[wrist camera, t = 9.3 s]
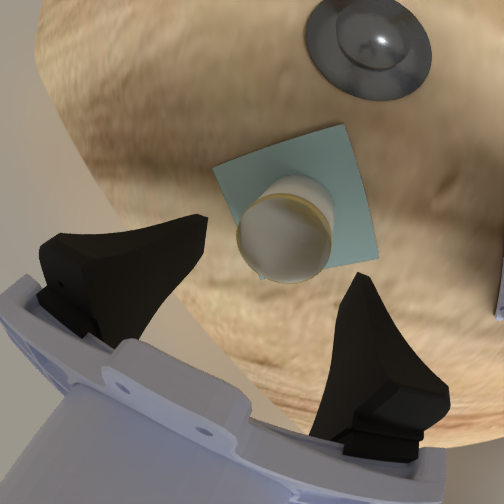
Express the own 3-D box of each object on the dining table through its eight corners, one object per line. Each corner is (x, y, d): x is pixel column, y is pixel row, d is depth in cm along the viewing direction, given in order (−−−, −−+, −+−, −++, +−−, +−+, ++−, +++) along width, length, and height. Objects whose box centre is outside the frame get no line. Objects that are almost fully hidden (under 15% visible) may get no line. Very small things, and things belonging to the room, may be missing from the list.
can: (312, 256, 19) (301, 297, 15) (250, 222, 19) (224, 255, 15) (350, 199, 16) (350, 230, 12) (280, 160, 16) (258, 178, 13)
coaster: (378, 252, 18) (379, 258, 17) (263, 273, 22) (260, 279, 21) (343, 123, 15) (343, 123, 14) (216, 165, 19) (212, 168, 18)
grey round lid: (446, 90, 11) (461, 89, 9) (335, 113, 14) (333, 114, 12) (397, -15, 8) (403, -30, 6) (287, 9, 12) (277, -4, 10)
